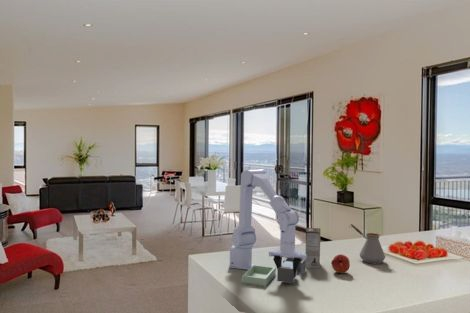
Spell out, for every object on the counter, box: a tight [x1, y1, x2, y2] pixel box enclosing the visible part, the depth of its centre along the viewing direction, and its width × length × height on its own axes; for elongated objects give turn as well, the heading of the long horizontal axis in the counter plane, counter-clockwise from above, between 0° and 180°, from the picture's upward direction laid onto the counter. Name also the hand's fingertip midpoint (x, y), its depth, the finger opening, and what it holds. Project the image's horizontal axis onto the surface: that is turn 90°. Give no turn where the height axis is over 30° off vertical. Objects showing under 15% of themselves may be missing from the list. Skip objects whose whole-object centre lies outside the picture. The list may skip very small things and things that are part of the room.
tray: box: [241, 264, 277, 287], centre depth 166 cm, size 10×16×3 cm, turn 161°
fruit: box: [330, 254, 351, 274], centre depth 175 cm, size 8×8×8 cm
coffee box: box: [304, 227, 321, 269], centre depth 186 cm, size 9×6×16 cm
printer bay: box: [282, 257, 307, 277], centre depth 175 cm, size 8×8×6 cm
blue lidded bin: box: [276, 261, 298, 284], centre depth 163 cm, size 6×11×6 cm, turn 161°
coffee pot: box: [348, 224, 386, 265], centre depth 198 cm, size 21×12×15 cm, turn 25°
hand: (286, 276), depth 161 cm, fingers closed on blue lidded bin, 5 cm apart
